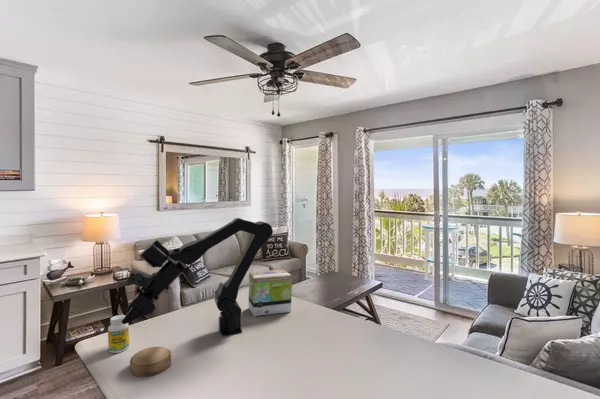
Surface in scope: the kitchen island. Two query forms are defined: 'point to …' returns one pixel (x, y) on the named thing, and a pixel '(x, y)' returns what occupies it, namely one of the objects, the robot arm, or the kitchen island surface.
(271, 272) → the tea box
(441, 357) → the kitchen island surface
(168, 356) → the pedestal
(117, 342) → the supplement bottle
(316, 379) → the kitchen island surface
